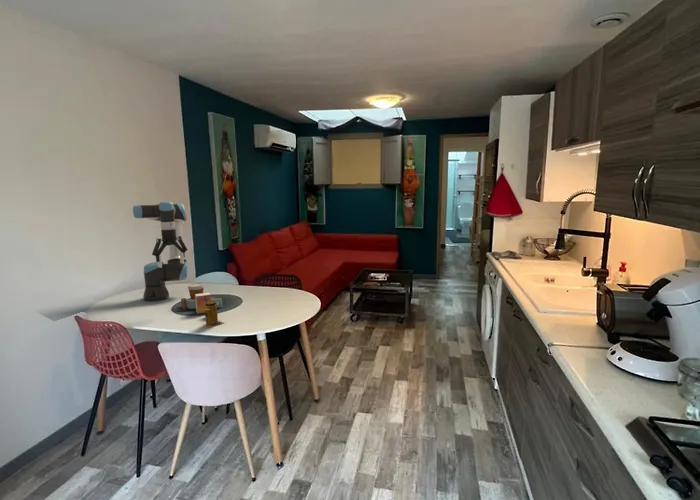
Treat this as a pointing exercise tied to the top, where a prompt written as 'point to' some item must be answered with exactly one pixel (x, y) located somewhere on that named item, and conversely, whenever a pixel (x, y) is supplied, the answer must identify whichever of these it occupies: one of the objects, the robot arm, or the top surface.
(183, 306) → the brown upright pieces
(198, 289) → the disposable coffee cup
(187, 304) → the door
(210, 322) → the condiment
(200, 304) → the small box
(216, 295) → the top surface
